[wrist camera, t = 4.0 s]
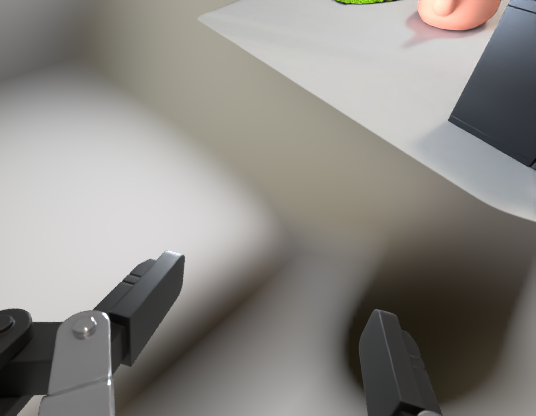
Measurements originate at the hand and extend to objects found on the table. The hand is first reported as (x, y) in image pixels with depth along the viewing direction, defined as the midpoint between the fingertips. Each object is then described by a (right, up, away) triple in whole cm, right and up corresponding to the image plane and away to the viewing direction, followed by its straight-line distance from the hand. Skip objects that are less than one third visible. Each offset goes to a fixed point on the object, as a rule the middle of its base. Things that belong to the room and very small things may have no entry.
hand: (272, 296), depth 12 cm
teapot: (+39, +44, +50) cm, 78 cm away
